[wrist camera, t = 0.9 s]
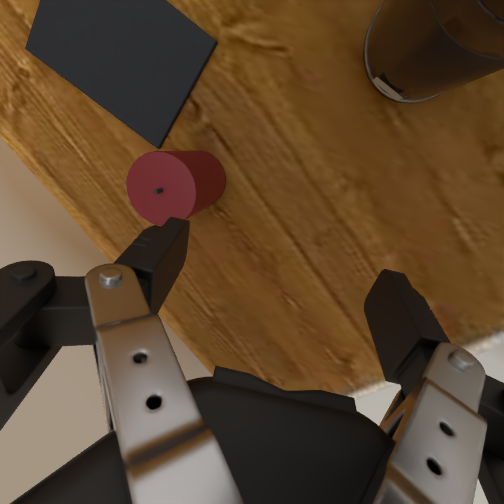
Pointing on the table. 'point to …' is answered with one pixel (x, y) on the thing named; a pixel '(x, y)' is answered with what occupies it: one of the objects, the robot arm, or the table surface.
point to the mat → (124, 56)
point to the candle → (174, 184)
